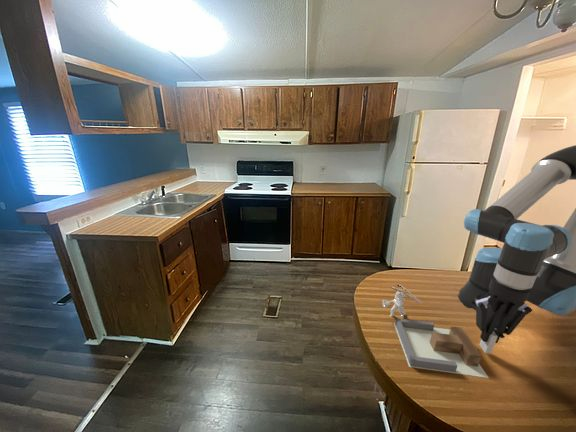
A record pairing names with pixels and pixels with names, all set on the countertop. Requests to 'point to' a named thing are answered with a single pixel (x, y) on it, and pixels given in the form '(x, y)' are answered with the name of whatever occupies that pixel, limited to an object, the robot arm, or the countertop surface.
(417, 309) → the countertop surface
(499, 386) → the countertop surface
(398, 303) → the figurine
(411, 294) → the silver tweezers
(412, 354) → the board
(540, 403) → the countertop surface
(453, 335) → the t block
